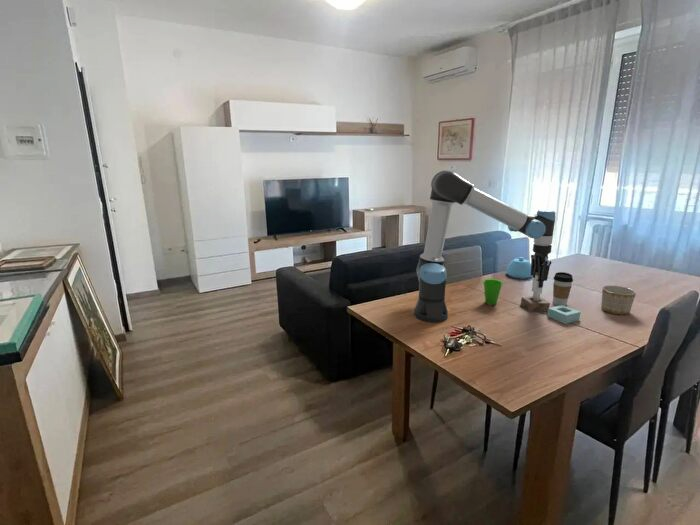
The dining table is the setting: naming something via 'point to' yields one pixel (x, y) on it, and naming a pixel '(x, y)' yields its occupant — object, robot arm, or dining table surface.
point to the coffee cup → (561, 288)
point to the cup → (492, 290)
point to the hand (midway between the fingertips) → (536, 292)
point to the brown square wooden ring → (535, 304)
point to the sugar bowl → (519, 268)
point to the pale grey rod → (535, 296)
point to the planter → (617, 299)
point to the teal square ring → (563, 314)
